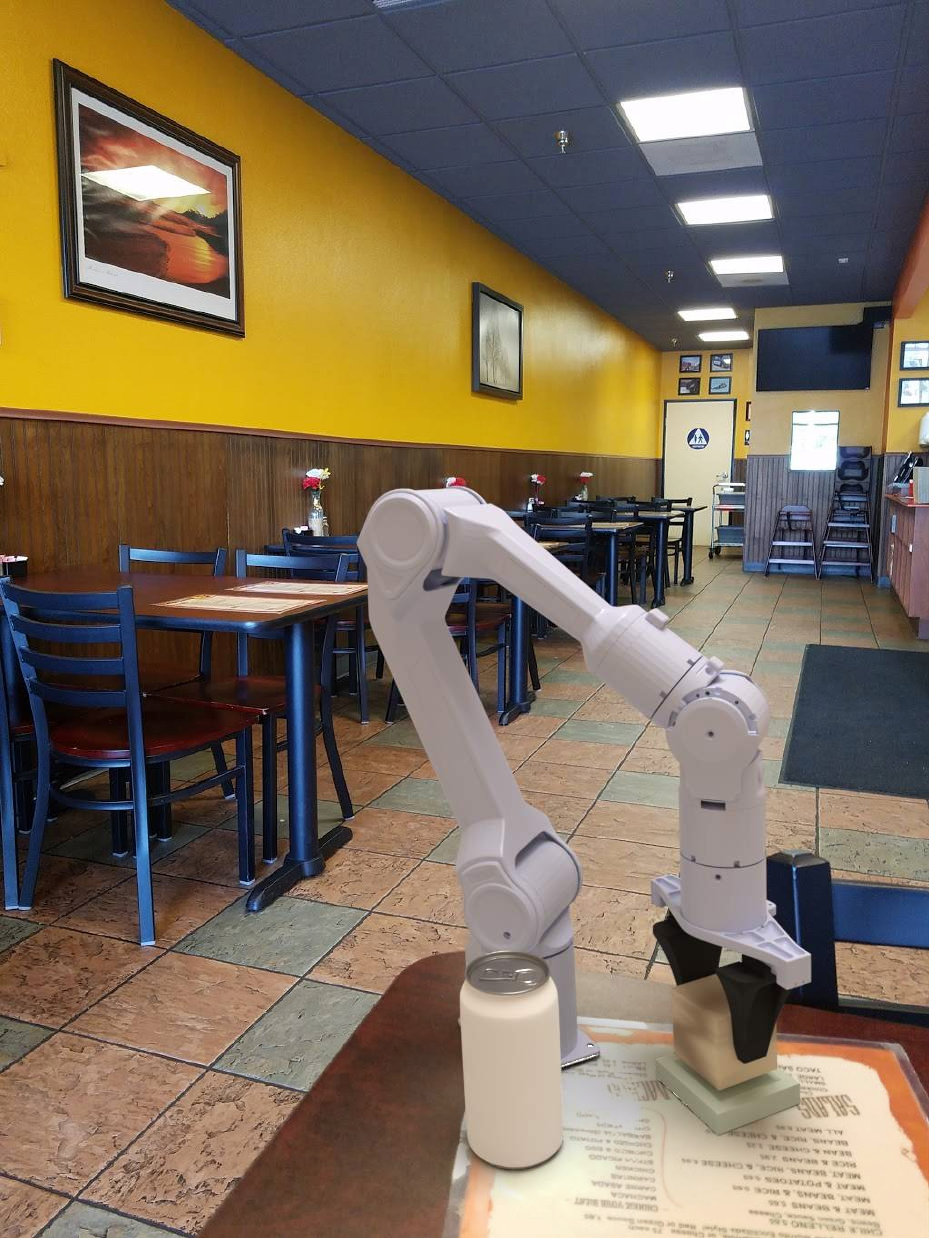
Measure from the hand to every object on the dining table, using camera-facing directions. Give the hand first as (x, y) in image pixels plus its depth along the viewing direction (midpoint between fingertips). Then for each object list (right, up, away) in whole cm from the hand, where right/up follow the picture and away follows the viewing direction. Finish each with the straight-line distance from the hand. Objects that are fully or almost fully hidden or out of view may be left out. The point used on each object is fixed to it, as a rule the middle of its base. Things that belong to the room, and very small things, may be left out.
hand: (725, 1036), depth 67 cm
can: (-15, -6, -3) cm, 16 cm away
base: (0, -4, +1) cm, 4 cm away
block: (0, -2, 0) cm, 2 cm away
